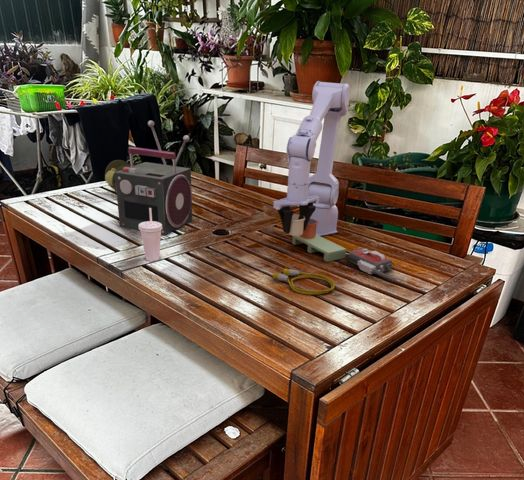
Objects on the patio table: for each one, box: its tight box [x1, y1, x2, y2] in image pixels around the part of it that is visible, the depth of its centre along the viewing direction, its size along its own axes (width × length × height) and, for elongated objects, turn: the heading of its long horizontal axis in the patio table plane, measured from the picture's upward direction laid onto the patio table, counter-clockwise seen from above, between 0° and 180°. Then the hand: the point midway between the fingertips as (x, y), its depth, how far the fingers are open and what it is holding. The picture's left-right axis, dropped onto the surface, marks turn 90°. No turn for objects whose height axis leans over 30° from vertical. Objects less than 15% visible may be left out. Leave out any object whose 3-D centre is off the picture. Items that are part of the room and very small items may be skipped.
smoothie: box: [138, 208, 162, 262], centre depth 141 cm, size 6×6×14 cm
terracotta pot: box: [299, 219, 318, 239], centre depth 157 cm, size 6×6×5 cm
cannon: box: [104, 159, 131, 192], centre depth 199 cm, size 25×12×11 cm, turn 119°
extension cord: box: [272, 267, 336, 296], centre depth 134 cm, size 12×16×2 cm
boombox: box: [114, 120, 193, 236], centre depth 163 cm, size 18×21×30 cm
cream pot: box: [287, 213, 305, 236], centre depth 147 cm, size 6×6×5 cm
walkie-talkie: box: [344, 247, 397, 282], centre depth 143 cm, size 9×4×20 cm
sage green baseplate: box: [291, 235, 347, 263], centre depth 155 cm, size 7×17×3 cm, turn 34°
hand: (294, 231), depth 148 cm, fingers closed on cream pot, 5 cm apart
